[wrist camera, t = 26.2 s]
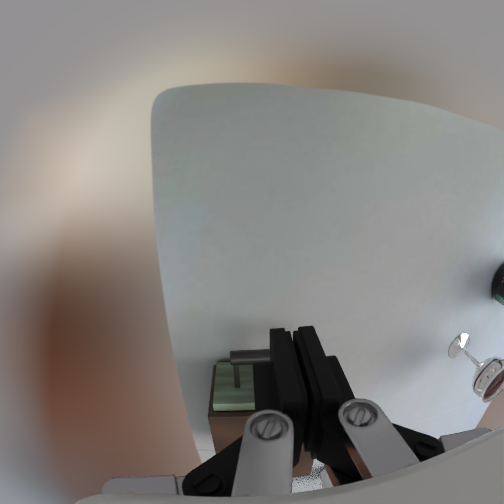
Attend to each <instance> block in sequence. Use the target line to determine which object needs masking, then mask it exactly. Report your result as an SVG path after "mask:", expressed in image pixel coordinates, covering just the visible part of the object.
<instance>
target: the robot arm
mask: <svg viewBox="0 0 504 504" xmlns="http://www.w3.org/2000/svg"><path fill="white" fill-rule="evenodd" d="M253 386H254V403H255V413H254V414H253V415H251V416H250V417H249V418H248V419H247V421H246V423H245V427H244V432H243V435H242V436H241V437H239V438H238V439H237V440H235V441H234V442H233V443H231V444H230V445H228V446H227V447H226V448H224V449H223V450H222V451H220V452H219V453H217V454H216V455H214V456H213V457H212V458H210V459H209V460H207V461H206V462H204V463H203V464H201V465H200V466H198V467H197V468H195V469H194V470H192V471H191V472H190V473H188V474H187V475H186V476H180V477H175V475H161V476H146V477H145V476H144V477H116V478H112V479H110V480H108V481H106V482H105V484H104V485H103V486H102V490H101V494H99V495H94V496H90V497H86V498H84V499H81V500H79V501H77V502H76V503H75V504H504V427H501V428H498V429H496V430H493V431H491V430H490V429H488V428H478V429H473V430H469V431H464V432H460V433H455V434H450V435H444V436H440V438H439V439H436V438H434V437H432V436H429V435H426V434H423V433H420V432H417V431H414V430H411V429H408V428H405V427H402V426H399V425H396V424H394V423H391V422H390V420H389V419H388V418H387V416H386V415H385V414H384V412H383V411H382V410H381V408H380V407H379V406H378V405H377V404H376V403H374V402H372V401H370V400H367V399H358V398H357V399H355V397H354V394H353V392H352V390H351V388H350V386H349V383H348V381H347V379H346V377H345V374H344V372H343V370H342V368H341V366H340V363H339V361H338V359H337V357H336V356H326V355H325V353H324V351H323V348H322V346H321V343H320V341H319V339H318V336H317V334H316V331H315V329H314V327H313V326H303V327H299V328H298V331H294V332H293V340H292V337H291V333H290V331H285V329H284V328H275V329H270V362H253ZM302 444H303V446H304V451H305V452H310V455H311V459H317V460H318V461H320V462H322V463H324V464H325V465H324V466H325V470H326V472H327V474H328V477H329V479H330V481H331V483H332V485H333V487H330V488H325V489H319V490H313V491H306V492H298V493H292V471H293V468H294V467H295V466H296V465H297V464H298V463H299V459H300V453H301V450H302Z"/></svg>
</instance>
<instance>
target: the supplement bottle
mask: <svg viewBox="0 0 504 504" xmlns="http://www.w3.org/2000/svg"><path fill="white" fill-rule="evenodd" d="M492 295H493V297H494V299H495V300H496V301H498V302H499V303H501V304H502V305H504V265H502V266H501V267H500V268H499V269H498V271H497V273H496V274H495V277H494V279H493V283H492Z"/></svg>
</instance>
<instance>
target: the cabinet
mask: <svg viewBox="0 0 504 504" xmlns="http://www.w3.org/2000/svg"><path fill="white" fill-rule="evenodd" d="M216 367H217V365H214V368H213V377H212V385H211V394H210V403H209V413H208V420H209V424H210V429H211V434H212V438H213V443H214V447H215V452H216V454H217V453H219V452H220V451H222V450H223V449H224V448H226V447H227V446H228V445H230V444H231V443H233V442H234V441H235V440H237V439H238V438H239V437H241V436H242V435H243V432H244V427H245V423H246V421H247V419H248V418H249V417H250V416H251V415H253V414H254V413H255V411H249V412H222V411H214V409H213V396H214V386H215V376H216ZM313 461H314V459H311V455H310V452H305V451H304V446H303V444H302V450H301V453H300V459H299V463H298V464H297V465H296V466H295V467H294V468H293V471H292V477H298V476H306V475H310V473H311V469H312V465H313Z"/></svg>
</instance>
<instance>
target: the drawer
mask: <svg viewBox="0 0 504 504" xmlns="http://www.w3.org/2000/svg"><path fill="white" fill-rule="evenodd" d="M253 362H270V349H263V350H242V351H230V362H217V367H216V376H215V386H214V396H213V409H214V411H222V412H246V410H255V403H254V386H253Z"/></svg>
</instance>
